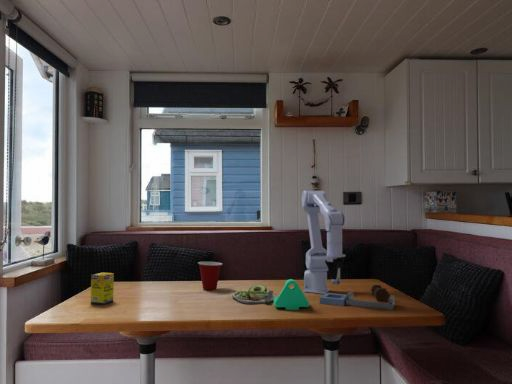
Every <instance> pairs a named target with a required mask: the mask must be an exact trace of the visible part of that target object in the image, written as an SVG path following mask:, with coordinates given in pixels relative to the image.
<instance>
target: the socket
mask: <svg viewBox="0 0 512 384" xmlns="http://www.w3.org/2000/svg"><path fill="white" fill-rule="evenodd" d="M346 295H347V294H343V293H334V292H333V293H332V292H327V293H325V294H322V295H320V297H319V304H321V305H322V304H323V305H330V306H331V305H332V306H340V307H341V306H342V307H344V306H345V305H346Z"/></svg>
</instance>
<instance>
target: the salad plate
mask: <svg viewBox="0 0 512 384" xmlns="http://www.w3.org/2000/svg"><path fill="white" fill-rule="evenodd" d="M232 298H233V299H234V300H236V301H237V302H238V303H242V304H246V305H257V304H258V305H260V304H268V303H271V302H274V298H278V295H276V294H274V291H273V290H268V288H267V286H266V285H264V284H255V285H252V286H250V287H249V289H248V290H246V291H245V290H239V291H236V292H233V293H232Z"/></svg>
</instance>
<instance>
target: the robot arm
mask: <svg viewBox="0 0 512 384" xmlns="http://www.w3.org/2000/svg"><path fill="white" fill-rule="evenodd" d="M301 205H302V210H303V211H304V212H305V213H306V217H307V224H308V233H309V239H310V240H309V242H310V249H308V250H307V252H306V253H305V265H306V270H304V276H303V293H314V294H322V295H324V294H325V293H329V292H330V291H331V289H330V288H328V274H329V278H330V280H331V279H335V280H336V279H337V273H338V267H339V268H340V272H341V270H342V267H343V263H344V261H345V257H346V254H343V226H344V225H345V221H346V216H345V214H344V212H343V211H342V210H341V211H340V210H337V209H336V207H335V205H333V203H332V202H331V201H328V200H327V192H326V191H325V190H322V189H321V190H303V191H302V193H301ZM319 212H320V214H321V216H322V217H323V218H324V221H323V222H324V226H325V231H326V248H324V246H323V241H322V233H321V225H320V219H319V218H320V217H319ZM328 272H329V273H328Z"/></svg>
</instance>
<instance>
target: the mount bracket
mask: <svg viewBox="0 0 512 384" xmlns="http://www.w3.org/2000/svg"><path fill="white" fill-rule="evenodd" d="M345 295H346V304H345V305H346V306H350V307H351V306H352V307H360V308H361V307H363V308H370V309H378V310H380V309H381V310H387V311H393V310H394V307H395V305H396V298H395V296H396V295H393V294H390V296H389V298H388V302H380V301H370V300H369V301H368V300H361V299H360V300H359V299H354V291H352V290H350V291H349V292H347V293H346V294H345Z"/></svg>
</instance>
